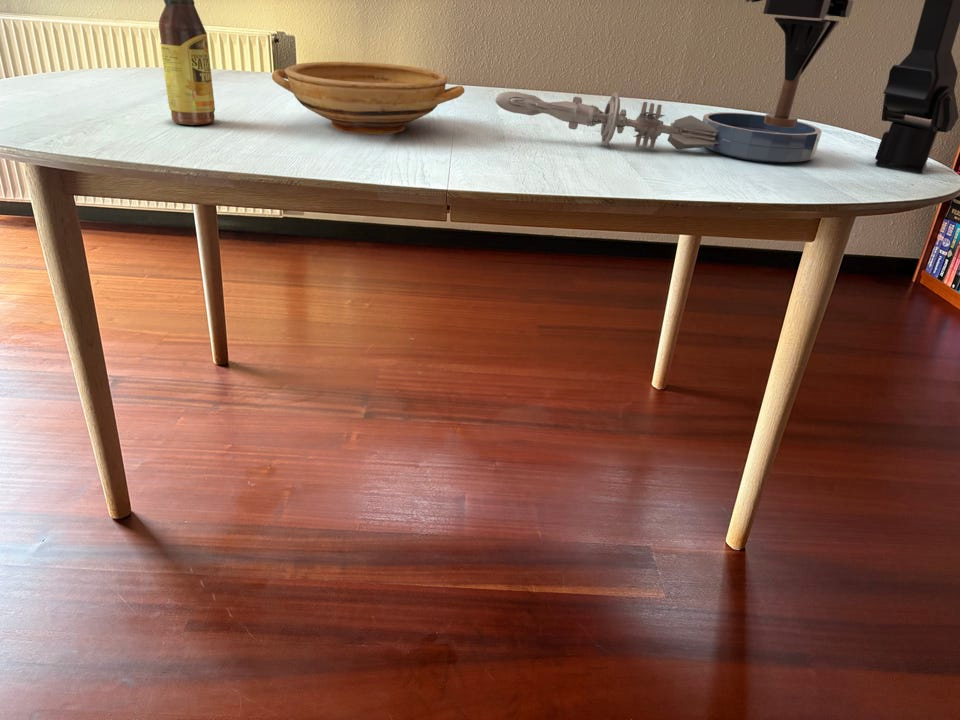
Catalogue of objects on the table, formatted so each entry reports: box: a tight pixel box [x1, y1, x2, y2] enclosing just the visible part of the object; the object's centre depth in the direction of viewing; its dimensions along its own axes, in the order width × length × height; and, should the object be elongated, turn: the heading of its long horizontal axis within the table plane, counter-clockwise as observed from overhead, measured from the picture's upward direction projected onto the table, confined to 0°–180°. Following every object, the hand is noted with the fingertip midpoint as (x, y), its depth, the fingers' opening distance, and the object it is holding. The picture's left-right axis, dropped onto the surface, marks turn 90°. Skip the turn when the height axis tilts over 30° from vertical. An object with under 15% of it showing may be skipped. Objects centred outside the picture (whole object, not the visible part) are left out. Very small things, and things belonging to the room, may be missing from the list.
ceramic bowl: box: [271, 61, 465, 135], centre depth 104 cm, size 30×24×8 cm
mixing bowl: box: [702, 111, 823, 164], centre depth 108 cm, size 18×18×4 cm
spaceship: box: [494, 91, 720, 151], centre depth 104 cm, size 8×35×8 cm
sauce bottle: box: [158, 0, 216, 126], centre depth 96 cm, size 7×6×20 cm
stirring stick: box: [764, 69, 802, 128], centre depth 87 cm, size 4×4×12 cm
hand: (791, 79), depth 87 cm, fingers closed on stirring stick, 2 cm apart
